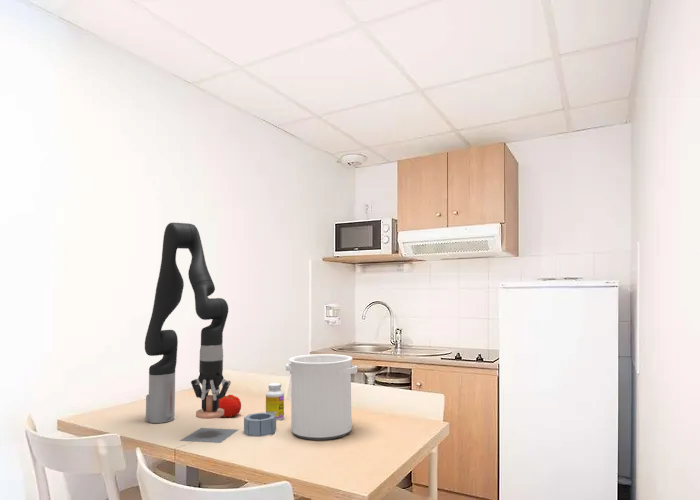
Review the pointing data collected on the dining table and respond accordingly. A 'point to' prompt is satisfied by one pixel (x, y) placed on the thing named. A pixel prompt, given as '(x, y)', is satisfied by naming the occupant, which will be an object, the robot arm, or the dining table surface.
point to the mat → (210, 435)
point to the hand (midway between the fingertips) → (210, 410)
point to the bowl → (260, 424)
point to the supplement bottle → (275, 401)
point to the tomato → (230, 405)
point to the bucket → (321, 395)
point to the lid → (209, 410)
